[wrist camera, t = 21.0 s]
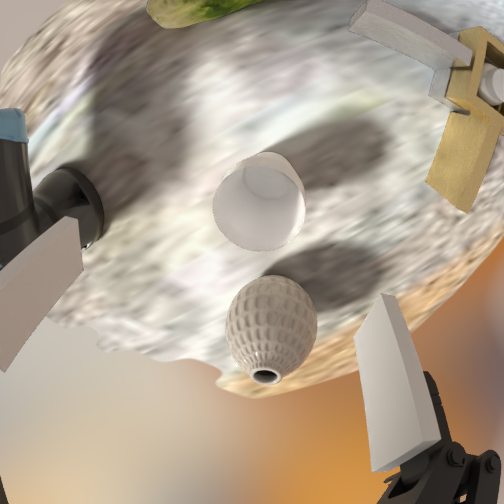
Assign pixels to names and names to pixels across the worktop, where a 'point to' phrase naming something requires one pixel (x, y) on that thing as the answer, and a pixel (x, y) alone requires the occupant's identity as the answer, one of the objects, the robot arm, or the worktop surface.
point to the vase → (271, 328)
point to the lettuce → (192, 11)
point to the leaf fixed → (416, 44)
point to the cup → (260, 203)
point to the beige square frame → (468, 126)
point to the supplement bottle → (491, 85)
